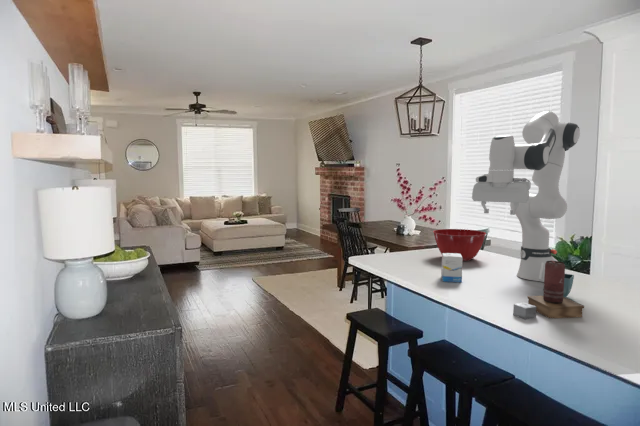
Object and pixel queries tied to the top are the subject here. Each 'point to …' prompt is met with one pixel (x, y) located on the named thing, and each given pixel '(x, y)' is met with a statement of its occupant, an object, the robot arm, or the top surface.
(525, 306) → the steel block
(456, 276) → the ink box
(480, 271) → the top surface
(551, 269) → the can
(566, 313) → the stand
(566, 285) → the flower pot
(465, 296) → the top surface
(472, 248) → the mixing bowl
